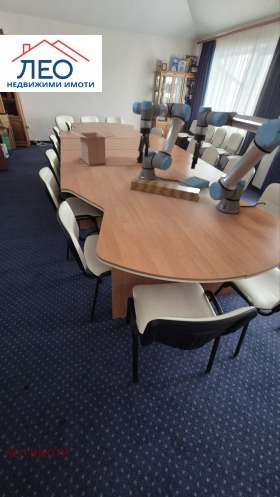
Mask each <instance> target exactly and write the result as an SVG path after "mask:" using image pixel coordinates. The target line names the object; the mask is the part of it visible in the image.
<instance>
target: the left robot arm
mask: <svg viewBox="0 0 280 497" xmlns="http://www.w3.org/2000/svg"><path fill="white" fill-rule="evenodd" d="M191 112H192V111H191V106H190V105H189V104H188V103H180V102H162V103H154V101H152V100H142V101H141V102H140V101H135V102H133V103H132V113H133V114H134V115H138V116H139V115H140V123H139V126H140V128H139V133H140V134H141V135H140V137H139V138H140V140H139V143H138V150H137V151H138V157H139V161H142V163H141V169H140V172H139V177H138V178H139V179H145V180H151V181H154V180H156V179H160V180H163V181H171V182H179V181H180V180H178V179H169V178H163V177H159V176H157V174H156V169H157V170H160V171H168V170H169V169H170V168H171V166H172V164H173V158H172V153H173V152H172V151H173V149H174V146H175V144H176V141H177V139H178V136H179V134H180V131H181V129H182V126H184V125H185V123H186V122H188V121H189V120H190V119H191ZM157 117H161V118H168V119H170V120H171V124H170V126H169V129H168V132H167V134H166V137H165V138H164V142H163V145H162V147H161V149H160V150H159V151H158V153H157V151H156V150H153V149H151V150H149V149H150V147H151V146H150V144H151V143H150V134H151V131H152V128H151V127H152V124H153V121H152V119H153V118H157ZM209 187H210V185H209V186H207V187H206V188H209Z"/></svg>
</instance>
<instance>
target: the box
mask: <svg viewBox="0 0 280 497" xmlns="http://www.w3.org/2000/svg"><path fill="white" fill-rule="evenodd" d="M70 133H71V134H72V135H74V136H75V137H77V138H79V144H80V153H81V160H83V162H85V163H86V165H87V166H95V165H97V166H98V165H106V163H107V162H106V158H107V157H106V138H113V137H114V136H113V135H111V134H109V133H108V132H105V131H98V132H96V131H95V130H92V129H91V130H77V132H76V131H70Z"/></svg>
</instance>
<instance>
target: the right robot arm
mask: <svg viewBox="0 0 280 497" xmlns="http://www.w3.org/2000/svg"><path fill="white" fill-rule="evenodd" d="M209 126H212V127H216V128H222V127H231V128H236V129H239V130H243V131H248V132H250V133H251V132H252V133H255V136H254V138H253V140H252V145H251V146H250V147H249V148H248V149H247V151H246V152H244V153H243V155H242V156H241V157H240V159H239V160H238V161H236V162H235V164H234V165H233V166H232V167H231V168H230V170H229V171H228V172H227V173H226V174H224V175H222V176H220V177H219V179H218V180H217V181H214V182H212V183H211V184H209V186H210V187H208V194H209V197H210V198H211V199H212V200H214V201H218V204H217V206H216V208H217V209H218V211H219V212H222V213H224V214H230V215H235V214H238V213H239V211H240V208H253V207H256V206H258V205H265V206H266V205H267V203H266V202H262V201H261V202H256V203H255V204H253V205H240V204H241V203H240V202H241V198H242V196H243V192H244V190H245V187H246V184H247V180H246V179H245V178H244V177H245V176H246V175H247V174H249V172H250V171H251V170H252V169H253V168H254V167H255V166H256V165H257V164H258V163H259V162H260V161H261V160H262V159H264V157H265V156H266V155H271V154H273V152H274V151H275V150H276V149H277V148H278V147H279V146H280V118H272V119H269V118H264V117H259V116H253V115H248V114H245V113H244V114H243V113H238V112H236V111H213V108H212V106H209V105H200V107H199V109H198V113H197V118H196V124H195V130H194V134H193V135H194V136H193V140H194V141H196V142H195V144H194V150H193V155H192V157H191V166H190V169H191V170H196V165H198V161H199V156H200V155H201V153H200V151H201V148H202V145H203V144H202V142H205V141H206V137H207V135H206V134H207V133H208V131H209Z"/></svg>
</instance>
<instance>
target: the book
mask: <svg viewBox="0 0 280 497" xmlns="http://www.w3.org/2000/svg"><path fill="white" fill-rule="evenodd" d="M178 183H179V184H178V185H179V186H185V187H191V188H196V189H200V190H203V189H205V188H208V187H207V186H210V183H211V182H210V180H207V179H204V178H202V177H199V176H196V175H193V176H191V177H188V178H184V179H182V180H179V181H178Z"/></svg>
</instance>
